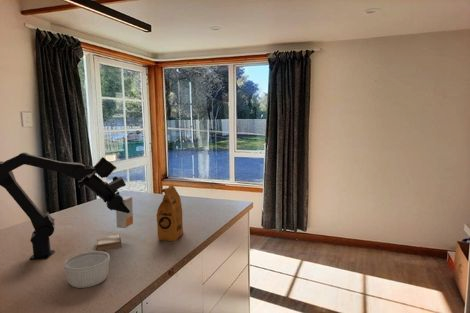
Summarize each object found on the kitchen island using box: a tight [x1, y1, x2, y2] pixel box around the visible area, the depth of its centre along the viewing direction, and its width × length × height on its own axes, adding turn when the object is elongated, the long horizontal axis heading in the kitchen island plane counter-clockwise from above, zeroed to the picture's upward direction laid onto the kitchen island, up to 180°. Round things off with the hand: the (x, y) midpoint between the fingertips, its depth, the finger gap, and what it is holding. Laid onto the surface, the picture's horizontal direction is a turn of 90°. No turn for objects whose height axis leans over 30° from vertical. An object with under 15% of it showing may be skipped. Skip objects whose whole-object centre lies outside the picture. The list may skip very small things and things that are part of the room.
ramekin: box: [63, 250, 111, 289], centre depth 104 cm, size 13×13×7 cm
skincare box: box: [115, 195, 134, 229], centre depth 136 cm, size 6×4×12 cm
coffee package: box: [156, 183, 184, 242], centre depth 139 cm, size 10×12×22 cm
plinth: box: [96, 233, 122, 252], centre depth 132 cm, size 9×9×2 cm
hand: (127, 210), depth 137 cm, fingers closed on skincare box, 7 cm apart
